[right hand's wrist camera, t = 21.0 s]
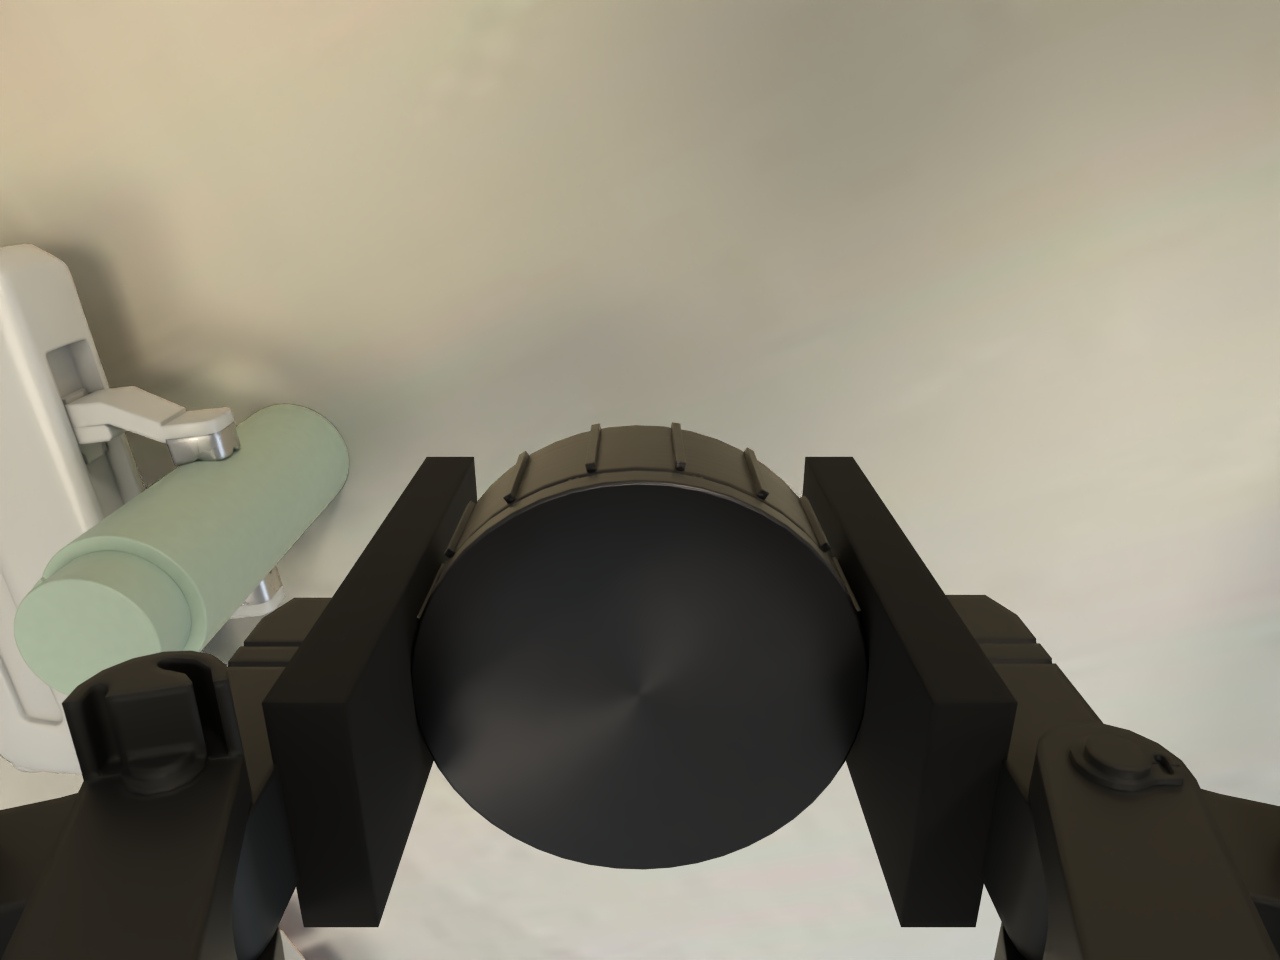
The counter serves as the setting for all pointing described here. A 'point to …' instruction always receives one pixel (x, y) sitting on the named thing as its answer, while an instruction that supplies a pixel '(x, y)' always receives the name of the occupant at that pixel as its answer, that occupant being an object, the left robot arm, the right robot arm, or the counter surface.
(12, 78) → the counter surface
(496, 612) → the lid
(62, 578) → the jar
